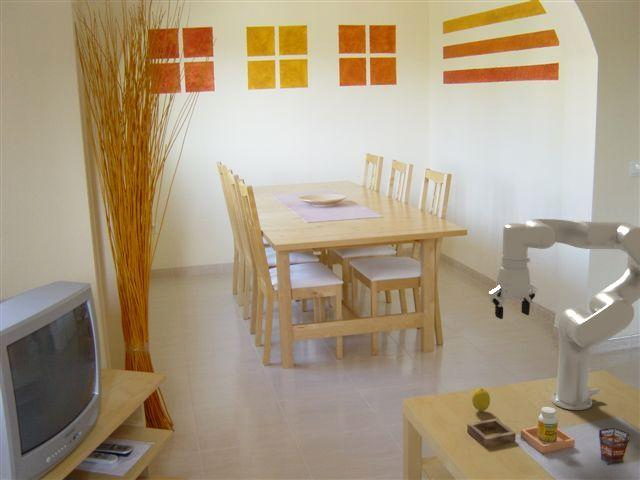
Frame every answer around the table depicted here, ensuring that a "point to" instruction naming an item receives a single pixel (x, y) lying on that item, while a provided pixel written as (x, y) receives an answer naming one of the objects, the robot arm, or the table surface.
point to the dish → (561, 444)
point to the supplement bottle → (547, 425)
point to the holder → (504, 437)
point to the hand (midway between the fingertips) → (512, 315)
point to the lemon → (481, 399)
